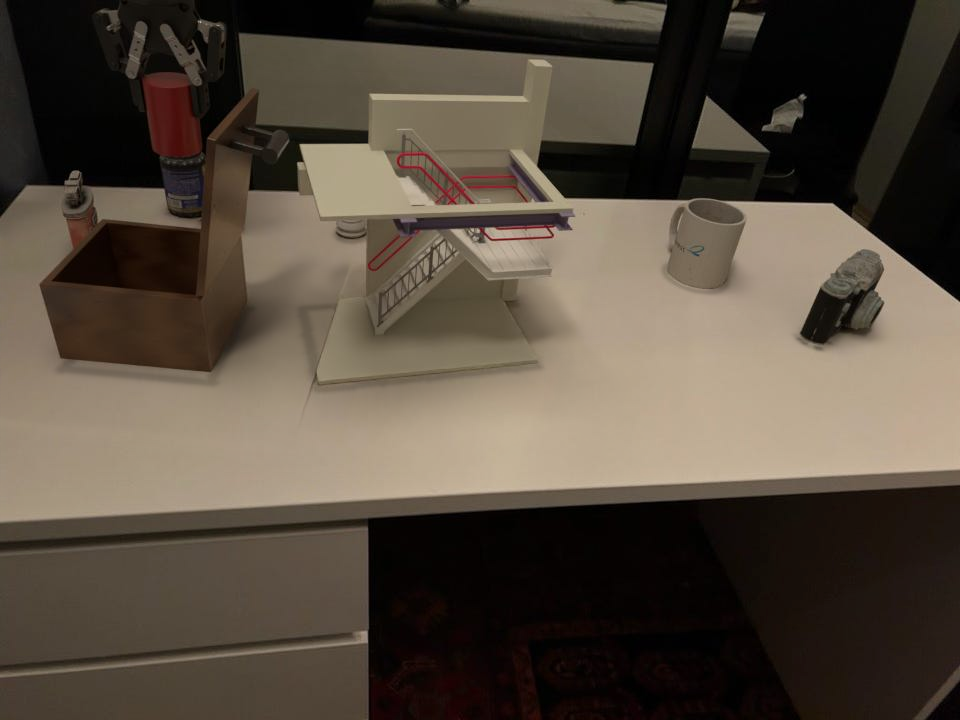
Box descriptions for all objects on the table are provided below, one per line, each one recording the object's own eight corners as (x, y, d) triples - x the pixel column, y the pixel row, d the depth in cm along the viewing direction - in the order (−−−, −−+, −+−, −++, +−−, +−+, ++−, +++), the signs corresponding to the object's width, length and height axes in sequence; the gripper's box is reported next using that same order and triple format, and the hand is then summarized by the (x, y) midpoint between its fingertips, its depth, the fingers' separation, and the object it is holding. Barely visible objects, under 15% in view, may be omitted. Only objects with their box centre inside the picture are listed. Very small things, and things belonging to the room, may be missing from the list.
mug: (735, 288, 107) (757, 225, 101) (680, 288, 105) (700, 225, 99) (699, 247, 117) (718, 188, 111) (649, 247, 115) (665, 187, 109)
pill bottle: (217, 214, 108) (209, 141, 102) (174, 221, 105) (163, 146, 99) (203, 197, 112) (194, 126, 106) (162, 204, 109) (150, 130, 103)
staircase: (321, 397, 78) (313, 114, 60) (302, 304, 92) (291, 51, 74) (559, 372, 86) (614, 116, 68) (509, 290, 100) (544, 60, 82)
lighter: (100, 266, 94) (84, 193, 88) (70, 268, 93) (52, 194, 87) (106, 237, 100) (91, 166, 94) (79, 238, 99) (61, 166, 93)
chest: (61, 364, 78) (38, 284, 72) (118, 292, 90) (102, 218, 84) (211, 377, 79) (200, 299, 73) (248, 304, 90) (241, 232, 85)
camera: (844, 358, 95) (877, 292, 89) (794, 335, 98) (823, 269, 92) (881, 318, 104) (913, 256, 98) (835, 298, 108) (863, 237, 102)
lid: (206, 137, 63) (267, 154, 64) (251, 87, 75) (302, 101, 76) (195, 295, 72) (249, 307, 73) (237, 228, 84) (282, 239, 85)
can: (144, 153, 86) (133, 83, 81) (162, 136, 90) (153, 69, 86) (193, 159, 86) (184, 90, 81) (208, 142, 91) (201, 75, 86)
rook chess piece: (350, 222, 111) (350, 171, 106) (372, 232, 109) (373, 181, 104) (329, 231, 108) (328, 180, 103) (351, 242, 106) (351, 190, 101)
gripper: (60, -55, 72) (96, 116, 82) (208, -37, 73) (225, 131, 83) (95, -65, 78) (124, 96, 88) (231, -48, 79) (244, 109, 89)
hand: (173, 112), depth 86 cm, fingers closed on can, 5 cm apart
